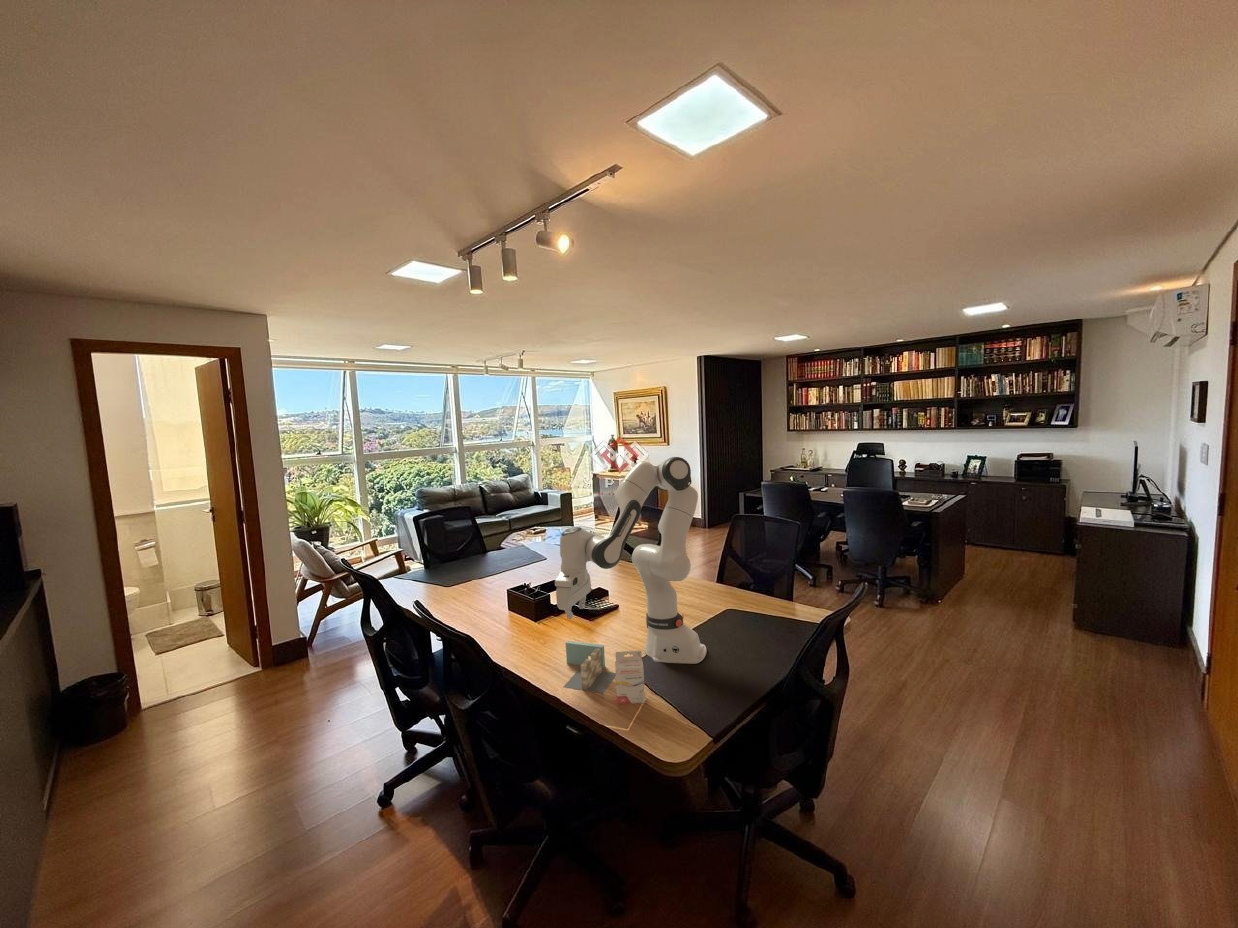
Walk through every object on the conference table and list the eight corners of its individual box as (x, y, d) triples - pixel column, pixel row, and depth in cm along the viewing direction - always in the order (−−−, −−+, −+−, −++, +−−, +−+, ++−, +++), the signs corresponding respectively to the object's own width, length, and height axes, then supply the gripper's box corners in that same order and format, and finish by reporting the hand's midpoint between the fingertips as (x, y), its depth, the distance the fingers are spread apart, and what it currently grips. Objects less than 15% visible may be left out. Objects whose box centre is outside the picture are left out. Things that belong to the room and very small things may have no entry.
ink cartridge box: (617, 705, 149) (614, 658, 147) (616, 696, 154) (614, 651, 152) (645, 704, 149) (643, 657, 148) (644, 695, 154) (641, 649, 153)
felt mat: (617, 674, 167) (617, 673, 167) (602, 694, 155) (602, 693, 155) (580, 668, 172) (580, 667, 172) (563, 688, 160) (562, 686, 160)
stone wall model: (596, 670, 169) (595, 648, 169) (601, 671, 169) (600, 649, 168) (582, 689, 158) (580, 665, 157) (587, 689, 158) (585, 665, 157)
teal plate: (605, 667, 172) (603, 645, 172) (603, 669, 171) (601, 647, 170) (569, 662, 178) (567, 640, 177) (566, 664, 176) (565, 642, 175)
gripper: (578, 565, 183) (580, 601, 184) (552, 582, 164) (554, 623, 165) (594, 566, 181) (596, 603, 182) (569, 584, 162) (571, 625, 163)
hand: (576, 612), depth 173 cm, fingers open, 8 cm apart
